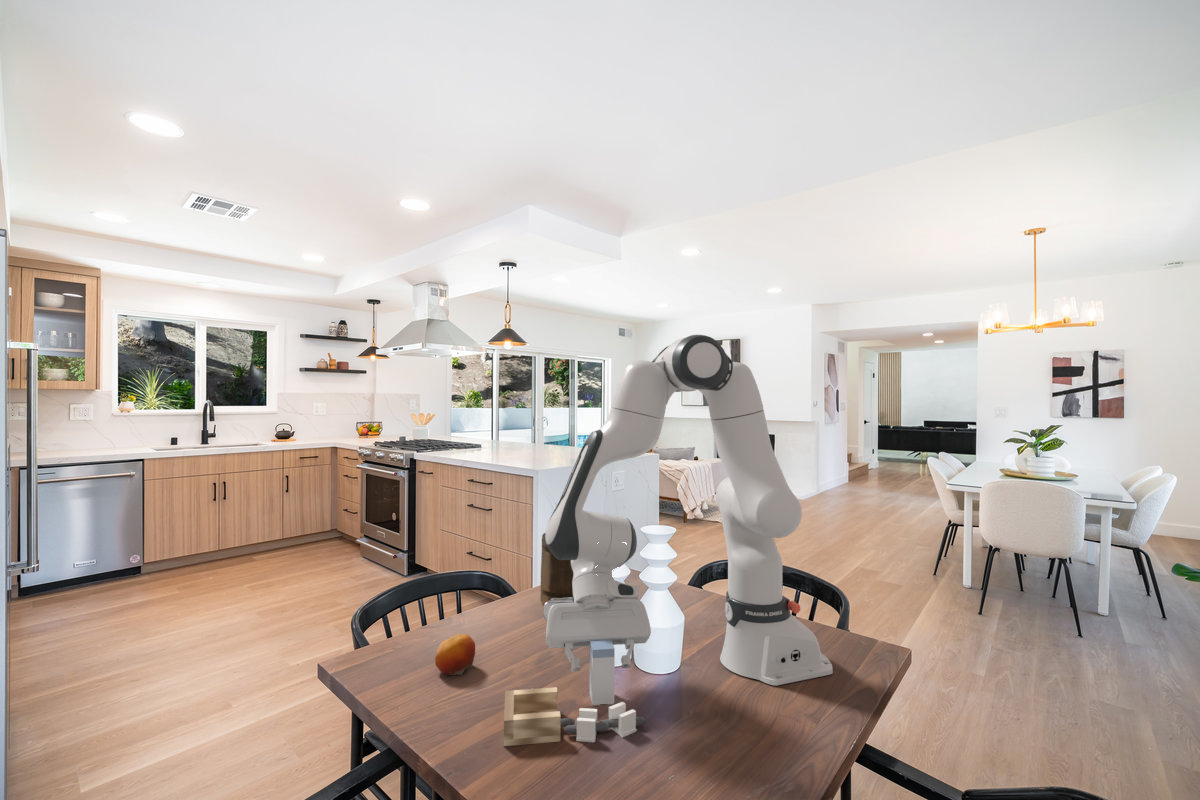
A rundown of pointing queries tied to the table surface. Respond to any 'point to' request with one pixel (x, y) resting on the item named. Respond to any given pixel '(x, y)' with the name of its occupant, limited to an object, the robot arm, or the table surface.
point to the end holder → (531, 716)
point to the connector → (602, 671)
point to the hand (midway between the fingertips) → (601, 668)
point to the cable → (600, 726)
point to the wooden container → (554, 576)
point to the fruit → (455, 654)
